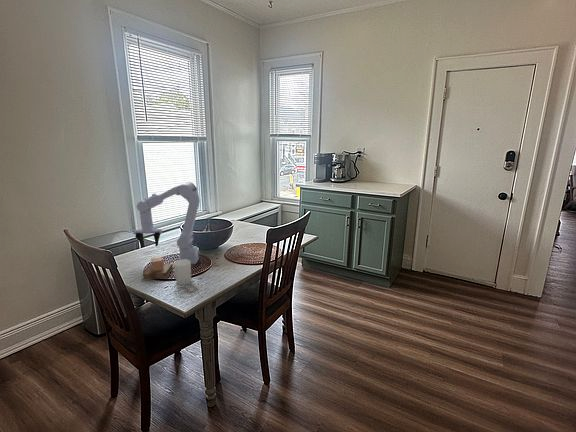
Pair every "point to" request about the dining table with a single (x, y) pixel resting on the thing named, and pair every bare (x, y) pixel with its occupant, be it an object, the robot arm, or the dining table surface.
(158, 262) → the cube
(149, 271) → the base
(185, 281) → the white cup
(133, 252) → the dining table surface
